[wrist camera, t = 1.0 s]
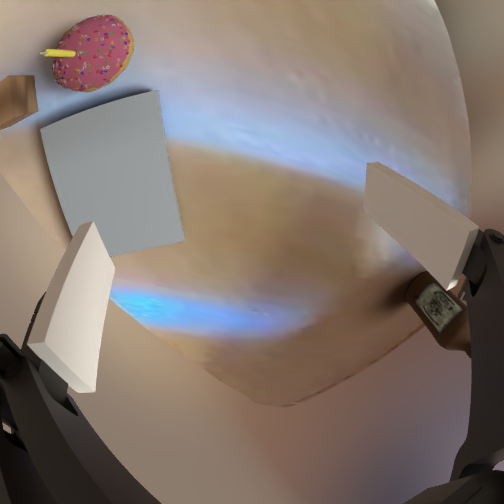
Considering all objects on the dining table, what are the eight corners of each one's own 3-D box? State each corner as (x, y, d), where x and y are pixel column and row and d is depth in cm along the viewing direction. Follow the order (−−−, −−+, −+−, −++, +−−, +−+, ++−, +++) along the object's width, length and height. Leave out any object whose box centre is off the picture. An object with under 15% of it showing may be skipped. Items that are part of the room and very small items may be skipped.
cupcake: (76, 103, 22) (26, 112, 12) (65, 43, 17) (14, 27, 7) (145, 76, 23) (123, 64, 13) (133, 15, 18) (111, -23, 8)
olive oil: (436, 278, 59) (494, 342, 39) (409, 307, 62) (462, 375, 42) (427, 262, 53) (495, 334, 33) (397, 294, 56) (459, 372, 36)
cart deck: (50, 125, 22) (40, 129, 20) (159, 90, 24) (156, 89, 22) (89, 250, 32) (84, 263, 30) (183, 229, 35) (184, 240, 32)
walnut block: (5, 92, 17) (-21, 96, 12) (34, 75, 18) (9, 75, 13) (10, 126, 20) (-15, 135, 15) (38, 111, 21) (13, 117, 16)
